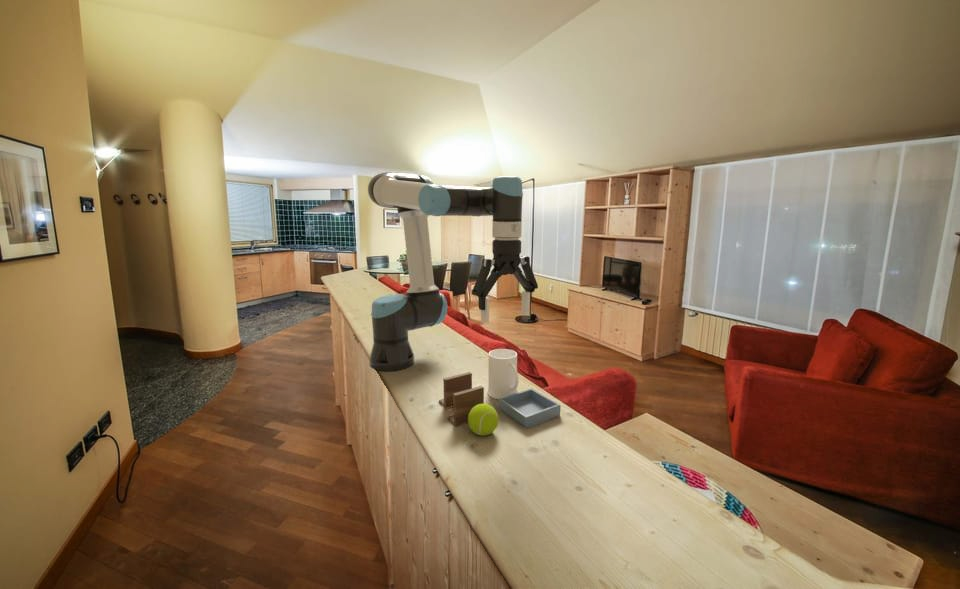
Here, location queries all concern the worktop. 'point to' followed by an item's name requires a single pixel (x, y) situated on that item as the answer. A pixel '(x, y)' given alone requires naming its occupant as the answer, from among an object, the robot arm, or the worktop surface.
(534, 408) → the dish
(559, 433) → the worktop surface
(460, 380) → the bookend
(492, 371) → the mug
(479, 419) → the tennis ball
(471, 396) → the bookend
